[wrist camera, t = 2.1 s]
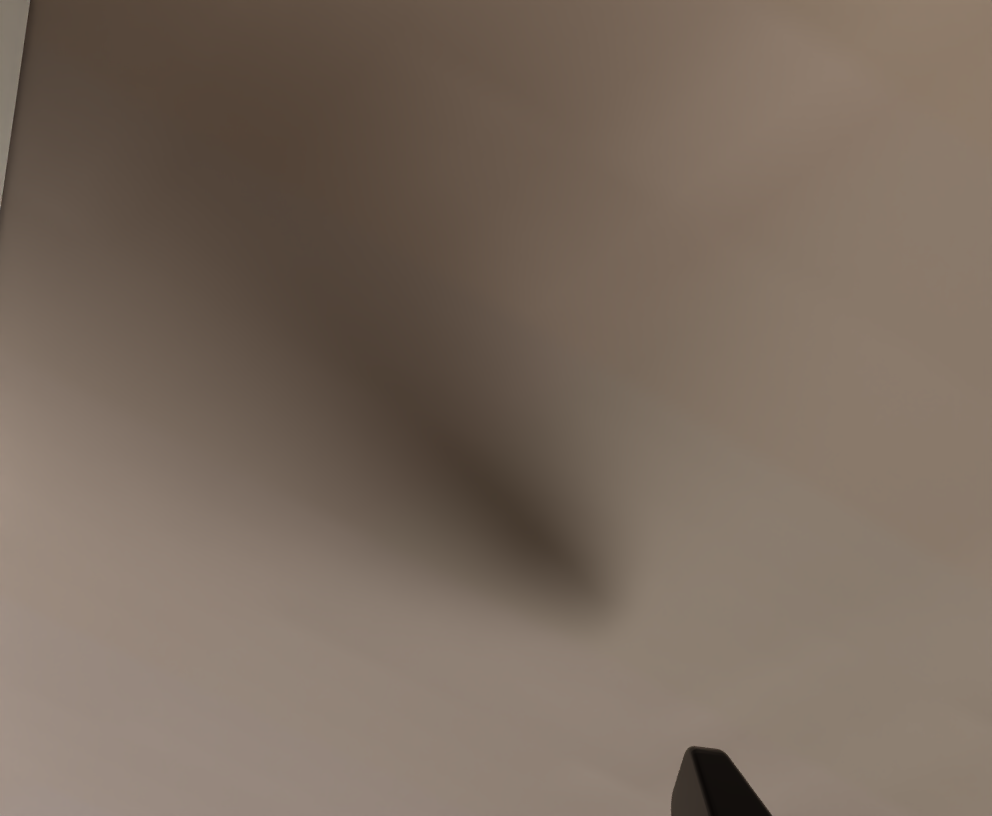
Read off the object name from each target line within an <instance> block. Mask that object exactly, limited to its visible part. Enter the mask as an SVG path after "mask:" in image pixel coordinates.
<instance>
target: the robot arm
mask: <svg viewBox="0 0 992 816" xmlns="http://www.w3.org/2000/svg"><path fill="white" fill-rule="evenodd" d="M671 816H772V815H771V813H770V812H769V811H768V809H767V808H766V807H765V805H764V804H763V802H762V801H761V800H760V798H759V797H758V796H757V794H756V793H755V792H754V790H753V789H752V788H751V786H750V785H749V784H748V782H747V781H746V779H745V778H744V777H743V775H742V774H741V773H740V771H739V770H738V769H737V767H736V766H735V765H734V763H733V762H732V760H731V759H730V758H729V756H728V755H727V754H726V753H725V752H723V751H722V750H719V749H714V748H705V747H697V746H692V747H689V748H688V749H687V750H686V752H685V754H684V757H683V761H682V764H681V767H680V770H679V773H678V776H677V780H676V783H675V786H674V789H673V793H672V801H671Z"/></svg>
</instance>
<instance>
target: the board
mask: <svg viewBox="0 0 992 816" xmlns="http://www.w3.org/2000/svg"><path fill="white" fill-rule="evenodd" d="M29 5H30V0H0V208H1V201H2V194H3V187H4V180H5V173H6V166H7V159H8V152H9V145H10V138H11V131H12V124H13V117H14V110H15V103H16V96H17V89H18V82H19V75H20V68H21V61H22V54H23V47H24V40H25V33H26V26H27V19H28V12H29Z"/></svg>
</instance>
